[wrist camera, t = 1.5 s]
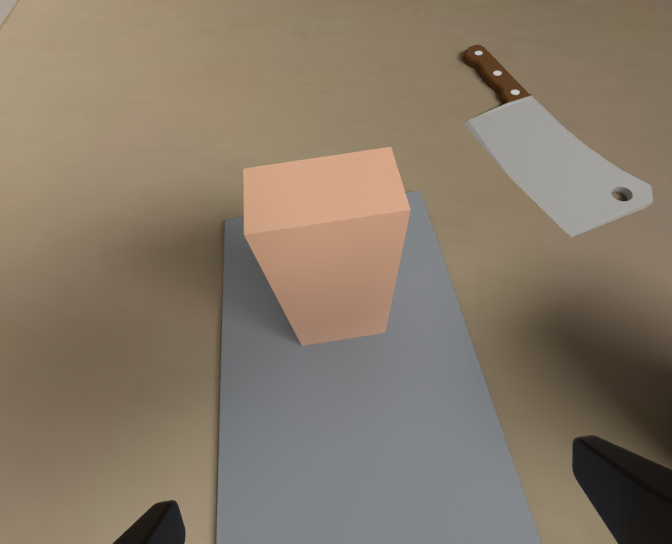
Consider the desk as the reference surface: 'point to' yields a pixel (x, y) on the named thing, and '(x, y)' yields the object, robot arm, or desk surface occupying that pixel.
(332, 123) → the desk surface
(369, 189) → the tall peach block
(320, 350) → the felt mat
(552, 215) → the kitchen cleaver
